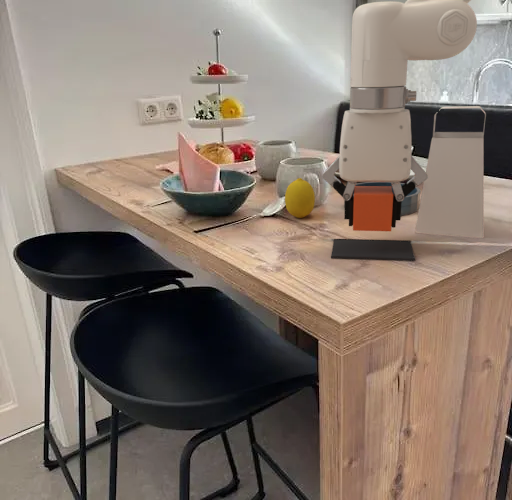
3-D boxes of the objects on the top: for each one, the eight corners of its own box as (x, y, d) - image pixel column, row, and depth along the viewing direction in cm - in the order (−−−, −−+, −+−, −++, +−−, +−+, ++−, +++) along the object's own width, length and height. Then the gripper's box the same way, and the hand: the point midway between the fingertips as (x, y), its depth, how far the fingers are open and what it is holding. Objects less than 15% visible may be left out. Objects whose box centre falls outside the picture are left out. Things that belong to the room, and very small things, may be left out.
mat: (409, 240, 80) (409, 238, 80) (414, 261, 72) (415, 258, 72) (334, 238, 83) (334, 236, 83) (331, 258, 75) (331, 255, 74)
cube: (389, 220, 78) (391, 186, 76) (391, 231, 73) (393, 194, 71) (353, 220, 79) (354, 186, 77) (352, 230, 74) (353, 194, 72)
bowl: (415, 200, 103) (416, 181, 102) (422, 220, 90) (424, 198, 89) (345, 200, 106) (346, 181, 105) (342, 219, 93) (343, 198, 92)
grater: (420, 218, 91) (428, 105, 85) (483, 222, 88) (496, 104, 81) (414, 236, 82) (422, 110, 76) (483, 241, 78) (498, 109, 72)
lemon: (301, 214, 98) (300, 173, 95) (321, 220, 93) (321, 177, 91) (279, 220, 95) (278, 178, 92) (298, 226, 90) (297, 182, 88)
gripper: (438, 97, 72) (427, 218, 78) (318, 100, 75) (317, 216, 81) (445, 100, 65) (433, 233, 71) (313, 104, 68) (312, 230, 74)
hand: (371, 223), depth 76 cm, fingers closed on cube, 5 cm apart
